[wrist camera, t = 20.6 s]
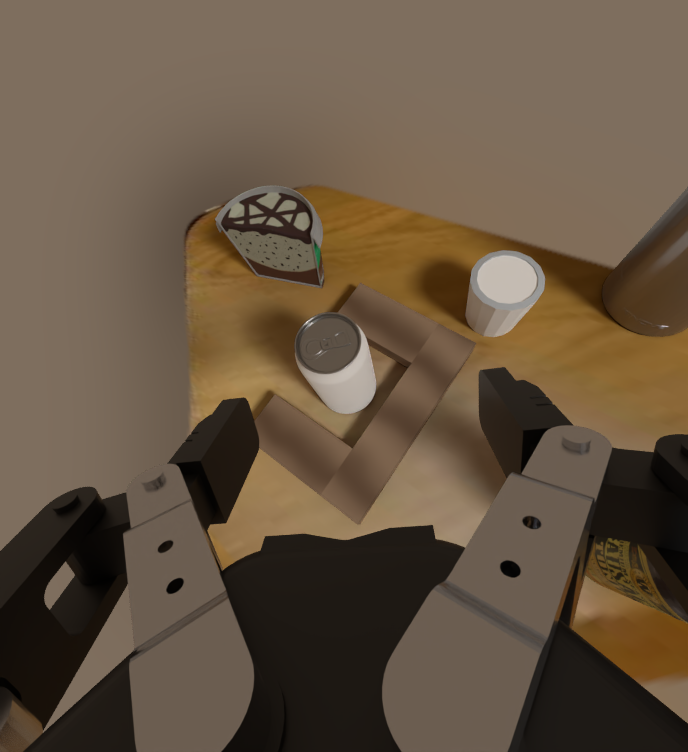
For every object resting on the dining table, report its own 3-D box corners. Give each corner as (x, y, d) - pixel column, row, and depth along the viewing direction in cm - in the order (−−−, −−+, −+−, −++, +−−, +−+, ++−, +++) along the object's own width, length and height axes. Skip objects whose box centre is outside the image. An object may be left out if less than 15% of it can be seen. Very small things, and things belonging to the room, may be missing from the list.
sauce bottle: (547, 522, 33) (727, 539, 15) (611, 498, 33) (871, 486, 15) (588, 600, 31) (862, 734, 13) (657, 575, 31) (1036, 673, 12)
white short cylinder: (526, 341, 40) (551, 308, 33) (461, 342, 41) (473, 311, 34) (518, 287, 42) (540, 247, 35) (457, 290, 43) (467, 251, 37)
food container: (347, 250, 47) (334, 187, 38) (333, 290, 46) (315, 234, 36) (263, 237, 50) (232, 176, 41) (247, 274, 49) (210, 218, 39)
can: (314, 370, 42) (281, 321, 31) (366, 353, 42) (353, 297, 31) (328, 422, 40) (299, 389, 29) (384, 404, 40) (376, 364, 28)
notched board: (362, 292, 45) (360, 282, 43) (472, 350, 40) (476, 343, 38) (250, 438, 40) (243, 435, 39) (360, 523, 36) (357, 524, 34)
